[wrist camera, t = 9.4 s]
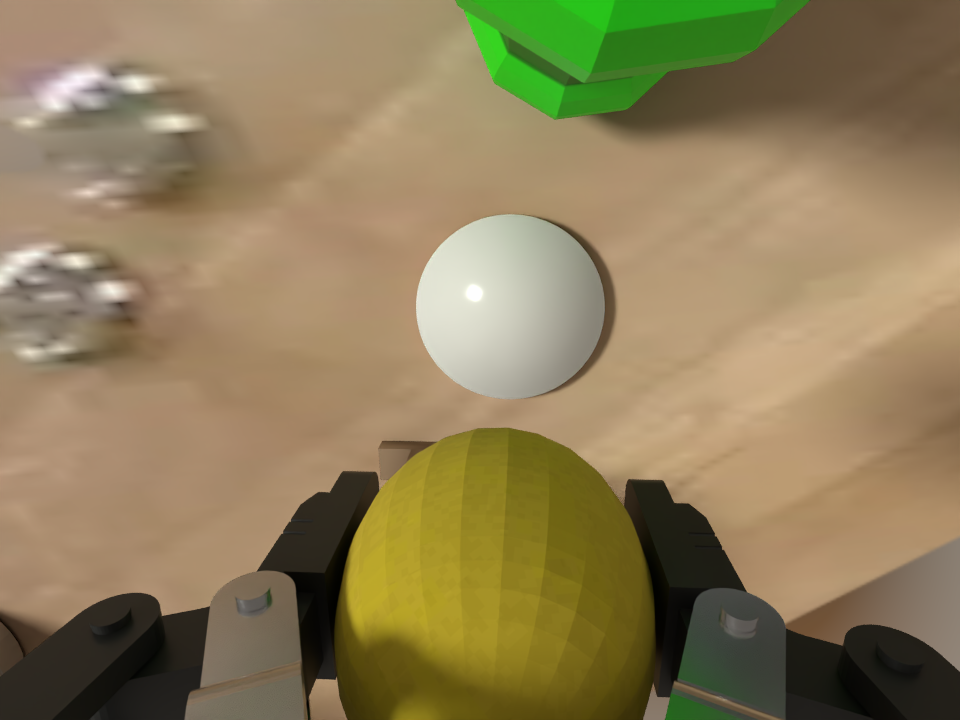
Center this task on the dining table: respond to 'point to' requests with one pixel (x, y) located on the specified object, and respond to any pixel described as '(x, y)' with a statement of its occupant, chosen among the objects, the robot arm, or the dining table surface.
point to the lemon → (495, 590)
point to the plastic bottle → (611, 45)
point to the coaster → (510, 306)
